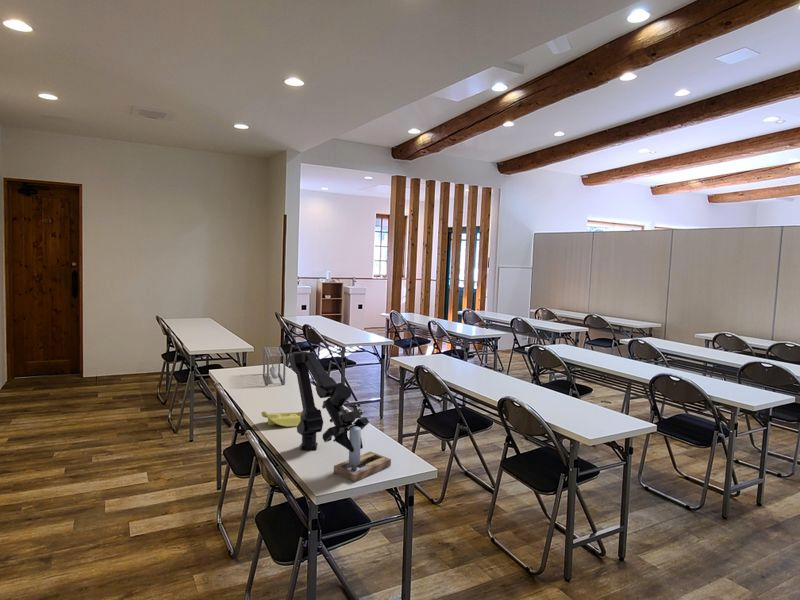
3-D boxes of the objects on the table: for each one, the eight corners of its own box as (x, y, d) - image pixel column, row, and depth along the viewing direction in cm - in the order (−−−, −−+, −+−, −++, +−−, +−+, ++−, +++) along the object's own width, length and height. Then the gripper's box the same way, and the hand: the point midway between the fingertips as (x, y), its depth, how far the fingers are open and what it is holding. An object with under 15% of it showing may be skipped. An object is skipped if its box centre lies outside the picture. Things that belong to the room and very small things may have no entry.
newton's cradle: (285, 385, 297) (285, 355, 296) (266, 386, 294) (267, 355, 292) (279, 373, 325) (280, 346, 324) (263, 374, 322) (263, 346, 320)
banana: (300, 412, 240) (308, 408, 232) (301, 428, 238) (308, 425, 230) (258, 414, 231) (264, 410, 223) (259, 430, 228) (265, 427, 220)
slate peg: (344, 470, 182) (345, 427, 181) (356, 468, 185) (358, 425, 183) (350, 476, 178) (352, 432, 176) (363, 473, 181) (365, 429, 179)
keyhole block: (354, 482, 174) (354, 474, 174) (333, 472, 181) (333, 465, 180) (390, 465, 189) (391, 459, 188) (370, 458, 195) (370, 451, 195)
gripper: (329, 405, 174) (350, 445, 168) (366, 395, 189) (387, 432, 183) (313, 422, 180) (333, 461, 174) (350, 411, 194) (370, 447, 188)
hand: (357, 450), depth 180 cm, fingers closed on slate peg, 4 cm apart
